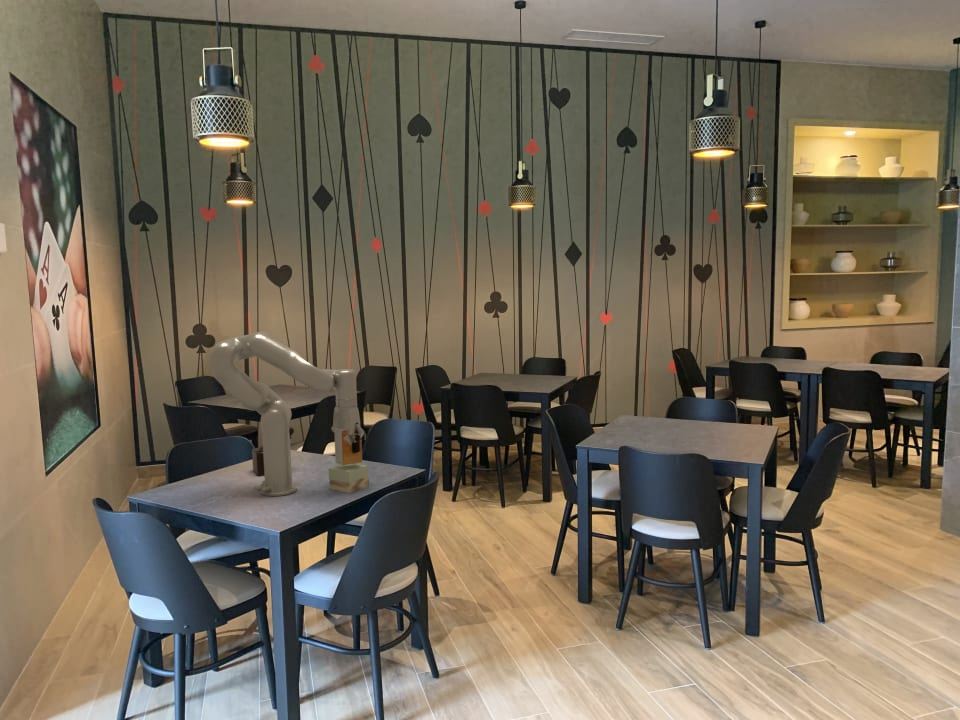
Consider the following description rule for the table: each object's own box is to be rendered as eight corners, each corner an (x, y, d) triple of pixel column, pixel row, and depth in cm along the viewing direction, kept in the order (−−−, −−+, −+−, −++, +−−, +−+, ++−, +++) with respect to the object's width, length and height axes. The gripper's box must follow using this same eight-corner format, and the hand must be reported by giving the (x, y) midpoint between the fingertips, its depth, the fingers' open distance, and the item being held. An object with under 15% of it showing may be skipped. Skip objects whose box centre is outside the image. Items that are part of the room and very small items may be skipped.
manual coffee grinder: (258, 477, 288) (255, 431, 286) (252, 471, 298) (249, 427, 296) (297, 471, 295) (295, 427, 293) (290, 465, 305) (288, 423, 303)
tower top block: (349, 482, 263) (349, 471, 262) (329, 479, 268) (328, 468, 268) (368, 476, 271) (367, 465, 271) (347, 473, 277) (347, 462, 276)
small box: (342, 466, 264) (341, 430, 263) (335, 462, 269) (333, 427, 268) (362, 462, 269) (361, 427, 268) (355, 459, 274) (353, 425, 273)
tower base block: (349, 493, 263) (348, 483, 263) (330, 489, 269) (329, 479, 269) (369, 487, 271) (368, 476, 271) (350, 483, 277) (349, 473, 277)
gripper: (322, 402, 269) (324, 450, 271) (355, 406, 259) (357, 456, 260) (338, 399, 275) (339, 446, 277) (370, 403, 264) (372, 452, 266)
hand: (348, 450), depth 269 cm, fingers closed on small box, 7 cm apart
